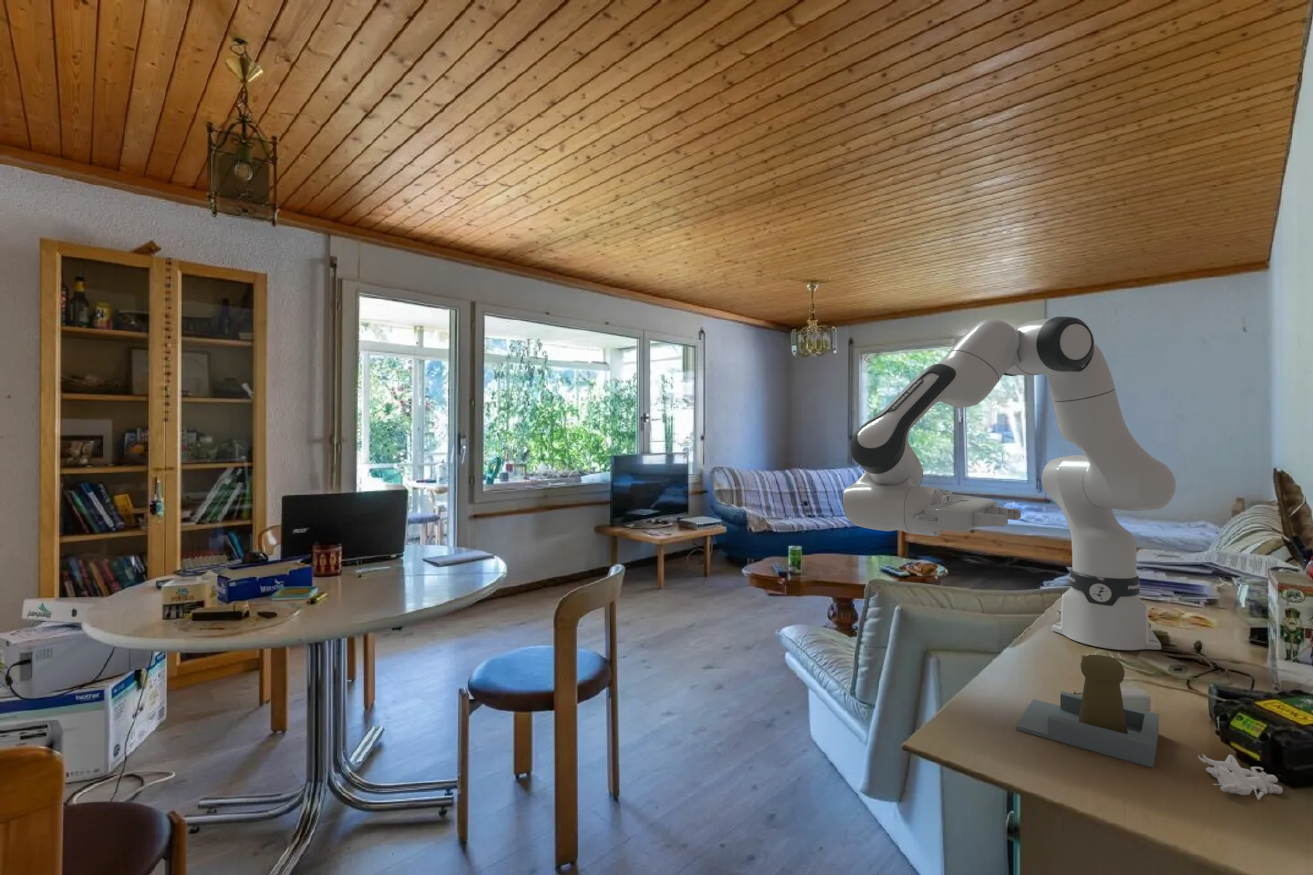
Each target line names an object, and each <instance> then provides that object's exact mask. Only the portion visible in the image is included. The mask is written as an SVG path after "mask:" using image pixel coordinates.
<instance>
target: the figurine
mask: <svg viewBox="0 0 1313 875" xmlns="http://www.w3.org/2000/svg"><path fill="white" fill-rule="evenodd" d="M1197 757H1198V760H1200V761H1201V762H1202V763H1207V765H1211V766H1213V767H1210V766H1209V767H1208V766H1207V767H1205V770H1206V772H1207V773H1209V774H1210V775H1211V777H1213V778H1215V779H1217V782H1218V783H1213V784H1212V786H1220V787H1219V789H1220V790H1221V791H1222V792H1229V793H1233V794H1237V795H1241V796H1249V795H1251V793H1252V791H1253V792H1254V794H1255V797H1256V799H1257V800H1258V801H1260V800H1261V798H1262V797H1263V796H1265V795H1267V794H1277V795H1282V793H1283V791H1284V789H1283V787H1282V786H1281V785H1278V784H1275V783H1278V781H1279V779H1278V777H1277V776H1276V775H1274V774H1267V773H1266V772H1265V771H1264V769H1265V768H1263V767H1261V766H1251V767H1250V769H1247V768H1243V767H1241V765H1240V764H1239V762H1238V761H1237V759H1236V758H1235V757H1234V756H1233V755H1232V754H1228V756H1227V757H1226V759H1225V761H1223V760H1214V759H1211V758H1209V757H1208V756H1206V755H1205V754H1202V757H1200V755H1197ZM1257 769H1259V770H1260V771H1261V772H1258V771H1257ZM1257 790H1259V793H1258V792H1257Z"/></svg>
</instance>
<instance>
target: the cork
mask: <svg viewBox="0 0 1313 875" xmlns="http://www.w3.org/2000/svg"><path fill="white" fill-rule="evenodd" d="M1080 670H1081V673H1082V675H1083V676H1084V682H1083V690H1082V695H1081V696H1082V702H1081V708H1080V714H1079V721H1078V722H1081V723H1085V724H1089V725H1093V726H1097V727H1101V728H1105V729H1109V730H1113V731H1116V732H1120V733H1124V734H1128V732H1127V726H1126V719H1125V713H1124V707H1123V706H1124V701H1123V694H1122V688H1121V684H1122V682H1124V679H1125V675H1126V674H1125V672H1126V671H1125V668H1124V666H1123V664H1122V663H1121V662H1120V661H1119V660H1117V659H1116V658H1113V657H1110V656H1106V655H1101V654H1088V655H1085V656H1084V657H1083V658H1082V659H1081V663H1080Z"/></svg>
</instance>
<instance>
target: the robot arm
mask: <svg viewBox="0 0 1313 875" xmlns="http://www.w3.org/2000/svg"><path fill="white" fill-rule="evenodd" d="M1038 375H1039V376H1040V375H1044V376H1045V377H1046V379H1047V380H1048V385H1049V391H1050V392H1049V393H1050V397H1051V400H1052V406H1053V410H1054V413H1055V417H1056V422H1057V426H1058V430H1059V432H1060V433H1059V434H1061V436H1062V437H1063V438H1064V439H1065V440H1067V441H1068V442H1070V443H1071V444H1073V445H1075V446H1076V447H1077V448H1078V449H1079V450H1080V451H1081V452H1082V453H1083V454H1072V455H1065V456H1061V457H1055V458H1053V459H1051V460H1050V461H1049V462H1047V463H1046V465H1045V466H1044V468H1043V469H1042V470H1043V471H1042V474H1041V484H1042V487H1043V489H1044V491H1045V493H1046V494H1047V495H1048V496H1049V497H1051V498H1052V499H1053V500H1054V501H1055V503H1056V504H1057V505H1058V507H1059V508H1060V510H1061V512H1062V513H1063V516H1064V517H1065V520H1066V523H1067V525H1068V528H1069V533H1070V538H1071V555H1072V556H1071V558H1072V560H1071V561H1072V565H1071V566H1072V568H1071V569H1070V570H1069V577H1068V579H1069V586H1070V588H1069V590H1067V591H1066V592H1064V593H1063V594H1061V595H1062V596H1061V605H1060V606H1061V609H1060V610H1061V611H1060V612H1061V613H1060V621H1058V622H1056V623H1053V624H1052V625H1051V631H1052V632H1055V633H1058V634H1061V635H1063V636H1065V637H1067V638H1068V639H1070V640H1073V641H1075V642H1079V643H1080V644H1084V645H1089V646H1092V647H1097V648H1102V649H1109V650H1118V651H1120V650H1121V651H1139V650H1162V643H1161V642H1160V640H1159V639H1158V636H1156V635H1155V633H1154V631H1153V630H1152V628H1151V627H1152V624H1151V622H1150V621H1149V607H1148V606H1147V605H1146V603H1145V602H1143V600H1141V598H1140V596H1139V594H1140V588H1141V582H1140V576H1138V575H1137V571H1138V569H1137V566H1138V565H1137V561H1138V559H1137V558H1138V557H1137V556H1138V555H1137V552H1138V551H1137V540H1136V538H1135V537H1134V535H1133V534H1132V532H1130V531H1129V530H1128V529H1126V528H1125V527H1123V526H1122V524H1120V522H1119V521H1118V519H1116V516H1115V513H1114V511H1113V510H1119V511H1127V512H1144V511H1157V510H1160V509H1164V507H1166V506H1167V505H1168V504H1169V503H1170V502H1171V501H1172V499H1173V497H1174V495H1175V493H1176V486H1177V485H1176V484H1177V483H1176V478H1175V476H1174V474H1173V471H1172V470H1171V469H1170V468H1169V467H1168V466H1167V465H1166V464H1164V463H1163V462H1161V461H1159V460H1157V459H1156V458H1155V457H1153V456H1152V455H1150V454H1149V453H1148V452H1147V451H1145V449H1144V448H1143V447H1142V446H1141V445H1140V443H1138V441H1137V440H1136V439H1135V437H1134V436H1133V435H1132V433H1131V431H1129V428H1128V427H1127V425H1126V423H1125V420H1124V416H1123V414H1122V410H1121V406H1120V403H1119V399H1118V395H1117V391H1116V387H1115V383H1114V379H1113V375H1112V372H1111V370H1110V368H1109V365H1108V363H1107V360H1106V358H1105V356H1104V355H1103V352H1102V350H1101V349H1100V347H1099V346H1098V345H1097V344H1095V338H1094V335H1093V333H1092V331H1091V329H1090V327H1089V326H1088V325H1087V323H1085V322H1084V321H1083V320H1082V319H1079V318H1078V317H1074V316H1073V317H1072V316H1055V317H1051V318H1044V319H1043V318H1040V319H1035V320H1029V321H1026V322H1025V323H1021V324H1017V325H1014V326H1012V325H1011V324H1009V323H1007V322H1006V321H1003V320H1000V319H997V318H996V319H995V318H989V319H983V320H982V321H979V322H977V323H976V324H975V325H974V326H973V327H972V328H970V329H969V330H968V331H967V332H966V333H965V334H964V335H963V336H962V337H961V338H960V339H959V340H958V341H957V342H956V343H955V344H954V345H953V346H952V348H951V349H950V350H949V351H948V352H947V354H946V355H945V356H944V358H943V359H941V361H939V363H935V364H932V365H929V366H928V367H926V368H925V369H923V370H922V371H921V372H920V373H919V374H918V375H917V376H915V378H913V379H912V381H910V382H909V383H908V384H907V386H905V387H904V388H903V389H901V391H900V392H899V393H897V396H895V397H894V398H893V399H892V400H891V401H890V403H888V405H887V406H885V407H884V408H883V409H882V410H881V411H880V412H879V413H878V414H876V415H874V416H873V417H872V418H870V419H869V420H868V421H866V422H865V423H863V424H862V425H861V426H859V427H858V429H857V430H855V432H854V434H853V435H852V436H851V437H852V438H851V441H850V443H849V444H850V446H849V451H850V452H849V453H850V454H851V457H852V458H853V460H854V461H855V462H856V463H857V464H858V466H860V467H861V468H862V469H863V470H864V473H863V474H862V475H861V476H860V477H859V478H858V480H856V481H855V482H854V483H853V484H851V485H849V486H847V487H845V489H844V490H843V494H842V498H841V499H842V502H841V503H842V509H843V511H844V512H843V513H844V514H845V516H846V518H847V520H849V522H850V523H851V524H853V525H854V526H857V527H861V528H865V529H870V530H876V531H883V532H893V531H902V532H904V533H906V534H913V535H922V536H932V537H939V536H940V535H941V534H942V533H943V531H946V532H956V533H968V532H970V531H973V530H974V529H977V528H979V527H1002V528H1003V527H1005V526H1008V524H1009V520H1011V521H1014V520H1015V521H1017V520H1020V519H1021V517H1022V511H1021V509H1019V508H1012V507H1011V508H1010V507H1005V506H1000V505H998V502H997V501H996V500H994V499H991V498H985V497H979V496H971V495H965V494H964V495H963V494H953V492H952V490H944V489H941V488H939V487H931V486H930V487H928V486H927V487H925V486H921V485H922V484H921V483H922V482H923V477H924V470H923V469H924V468H923V466H922V462H921V461H920V460H919V457H918V456H917V454H916V453H915V451H914V450H913V448H912V447H911V444H910V443H909V435H910V431H911V430H912V428H913V427H915V425H916V424H917V423H918V422H919V421H920V420H921V419H922V418H923V417H924V416H925V415H926V413H928V411H929V410H930V409H932V408H933V407H934V405H936V404H937V403H939V402H941V403H943V404H946V405H949V406H951V407H955V408H970V407H974V406H976V405H978V404H980V403H981V402H982V401H984V399H985V398H987V397H988V396H989V395H990V394H991V392H992V391H993V390H994V388H995V387H996V385H998V383H999V382H1000V381H1001V379H1002V378H1003V376H1007V377H1017V376H1038Z"/></svg>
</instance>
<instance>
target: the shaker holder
mask: <svg viewBox="0 0 1313 875" xmlns="http://www.w3.org/2000/svg"><path fill="white" fill-rule="evenodd" d="M1059 696H1060V697H1059V698H1060V701H1059V702H1060V705H1059V704H1054V703H1050V702H1046V701H1043V700H1039V699H1038V700H1037V699H1035V698H1034V699H1032V701H1031V702H1030V703H1029V705H1028V707H1027V708H1026V710H1025V711H1024V713H1023V715H1022V716H1021V717H1020V720H1019V721H1018V722H1017V724H1016V731H1019V732H1023V733H1026V734H1031V735H1034V736H1037V737H1040V738H1041V737H1042V738H1045V739H1049V740H1052V741H1054V742H1055V741H1056V742H1059V743H1063V744H1067V745H1070V746H1073V747H1077V748H1081V749H1084V750H1088V751H1091V752H1094V753H1095V752H1096V753H1099V754H1103V755H1106V756H1108V757H1113V758H1117V759H1120V760H1124V761H1127V762H1129V763H1135V764H1138V765H1142V766H1144V767H1148V768H1152V769H1154V766H1155V759H1156V754H1157V747H1158V740H1159V735H1160V734H1159V731H1160V722H1159V721H1160V719H1159V717H1160V715H1159V713H1158V712H1153V711H1148V710H1144V709H1140V708H1136V707H1131V706H1127V705H1123V707H1124V713H1125V719H1126V726H1127V732H1128V734H1124V733H1120V732H1116V731H1113V730H1109V729H1105V728H1101V727H1097V726H1093V725H1089V724H1085V723H1081V722H1078V721H1079V714H1080V708H1081V702H1082V695H1079V694H1075V693H1070V692H1066V691H1061V693H1060V695H1059Z"/></svg>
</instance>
